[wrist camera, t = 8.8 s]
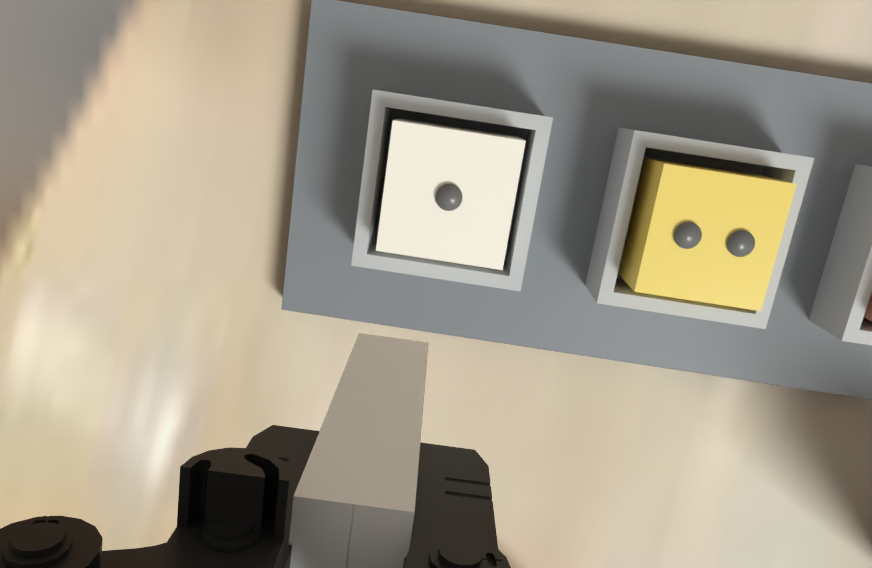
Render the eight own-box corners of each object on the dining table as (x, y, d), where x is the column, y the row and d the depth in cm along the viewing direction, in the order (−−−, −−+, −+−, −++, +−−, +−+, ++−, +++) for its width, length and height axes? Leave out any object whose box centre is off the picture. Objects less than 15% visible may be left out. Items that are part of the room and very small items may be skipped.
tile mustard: (615, 271, 27) (635, 292, 24) (641, 156, 26) (665, 163, 23) (728, 288, 27) (762, 312, 24) (759, 174, 26) (798, 184, 23)
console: (287, 302, 29) (265, 328, 26) (317, 0, 26) (296, -15, 23) (990, 410, 30) (1058, 449, 26) (1101, 121, 27) (1194, 125, 23)
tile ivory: (384, 234, 27) (375, 251, 24) (400, 118, 26) (392, 120, 23) (497, 251, 27) (502, 270, 24) (518, 136, 26) (526, 141, 23)
